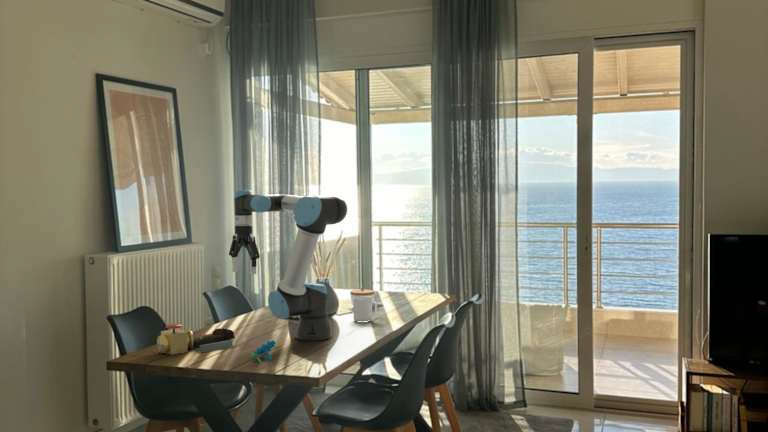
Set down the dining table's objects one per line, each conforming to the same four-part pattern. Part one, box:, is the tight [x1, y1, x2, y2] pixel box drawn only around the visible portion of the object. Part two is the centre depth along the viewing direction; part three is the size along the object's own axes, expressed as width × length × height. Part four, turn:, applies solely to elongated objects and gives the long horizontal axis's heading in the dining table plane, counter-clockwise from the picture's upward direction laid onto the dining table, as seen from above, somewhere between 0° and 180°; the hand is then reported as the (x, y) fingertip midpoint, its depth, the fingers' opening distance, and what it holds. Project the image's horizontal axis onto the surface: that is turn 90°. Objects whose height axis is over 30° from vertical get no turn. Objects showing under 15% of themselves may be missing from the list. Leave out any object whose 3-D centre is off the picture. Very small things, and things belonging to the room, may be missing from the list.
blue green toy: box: [250, 339, 276, 364], centre depth 253 cm, size 11×6×10 cm
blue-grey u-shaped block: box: [191, 339, 234, 353], centre depth 276 cm, size 17×14×3 cm
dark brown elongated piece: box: [194, 327, 236, 348], centre depth 277 cm, size 18×7×6 cm, turn 131°
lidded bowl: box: [350, 287, 375, 305], centre depth 360 cm, size 13×13×11 cm
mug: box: [352, 296, 378, 322], centre depth 326 cm, size 12×9×11 cm
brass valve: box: [156, 322, 195, 356], centre depth 266 cm, size 8×12×11 cm, turn 134°
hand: (244, 273), depth 302 cm, fingers open, 13 cm apart
